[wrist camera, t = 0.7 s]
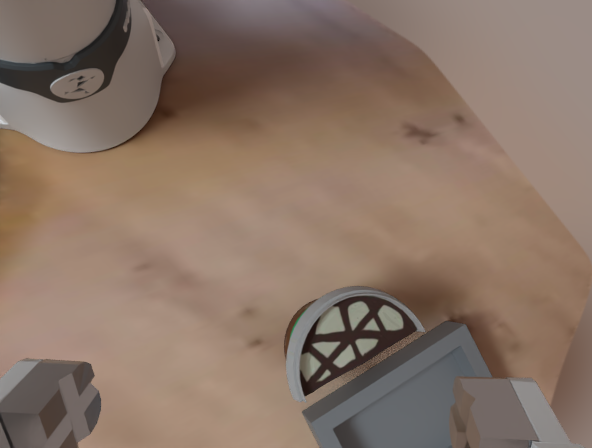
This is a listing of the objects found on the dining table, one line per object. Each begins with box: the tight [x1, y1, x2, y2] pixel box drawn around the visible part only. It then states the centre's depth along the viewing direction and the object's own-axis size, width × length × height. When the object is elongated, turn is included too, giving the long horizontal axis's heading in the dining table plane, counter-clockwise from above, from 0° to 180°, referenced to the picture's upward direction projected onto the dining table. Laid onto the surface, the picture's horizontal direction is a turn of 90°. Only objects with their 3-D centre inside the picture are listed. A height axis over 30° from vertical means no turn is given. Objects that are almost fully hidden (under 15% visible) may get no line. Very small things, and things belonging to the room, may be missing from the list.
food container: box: [284, 286, 426, 403], centre depth 39 cm, size 12×6×10 cm, turn 116°
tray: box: [302, 321, 492, 448], centre depth 43 cm, size 12×18×4 cm, turn 117°
